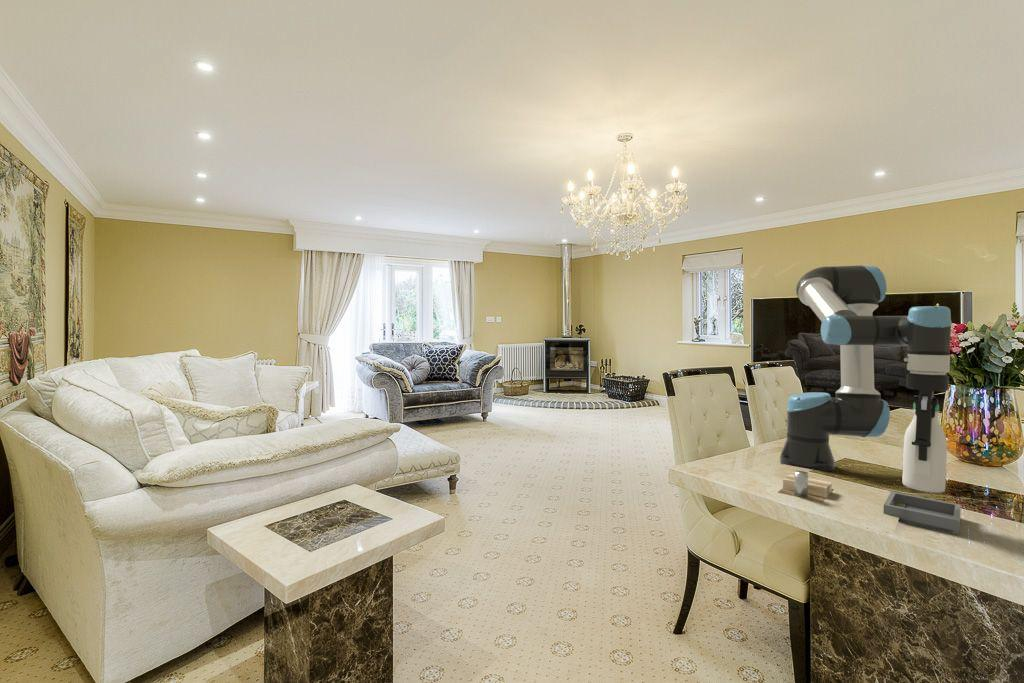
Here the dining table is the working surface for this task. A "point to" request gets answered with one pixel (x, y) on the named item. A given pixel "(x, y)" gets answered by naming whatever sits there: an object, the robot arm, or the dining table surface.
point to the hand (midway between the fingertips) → (923, 470)
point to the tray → (925, 512)
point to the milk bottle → (938, 458)
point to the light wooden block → (810, 486)
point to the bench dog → (801, 484)
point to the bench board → (810, 497)
